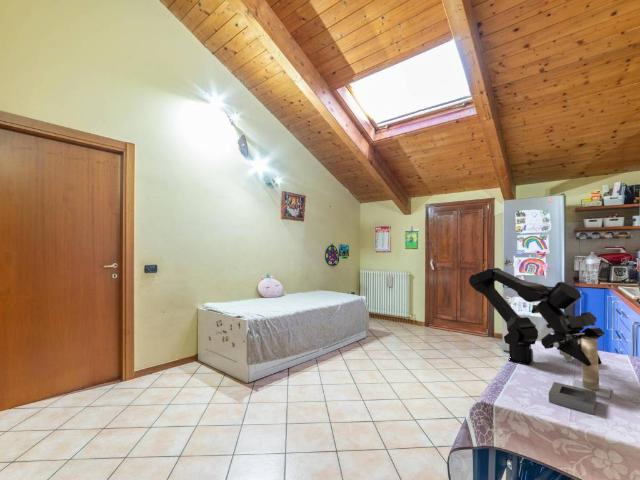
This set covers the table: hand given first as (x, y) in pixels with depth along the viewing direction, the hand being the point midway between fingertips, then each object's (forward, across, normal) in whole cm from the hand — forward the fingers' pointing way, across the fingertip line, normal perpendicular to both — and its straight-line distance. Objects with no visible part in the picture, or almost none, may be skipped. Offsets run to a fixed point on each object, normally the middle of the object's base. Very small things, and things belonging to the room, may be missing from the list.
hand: (595, 364), depth 86 cm
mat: (+4, 0, +6) cm, 8 cm away
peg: (+4, 0, +6) cm, 7 cm away
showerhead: (-9, +16, +20) cm, 27 cm away
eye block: (+7, -12, +4) cm, 14 cm away
